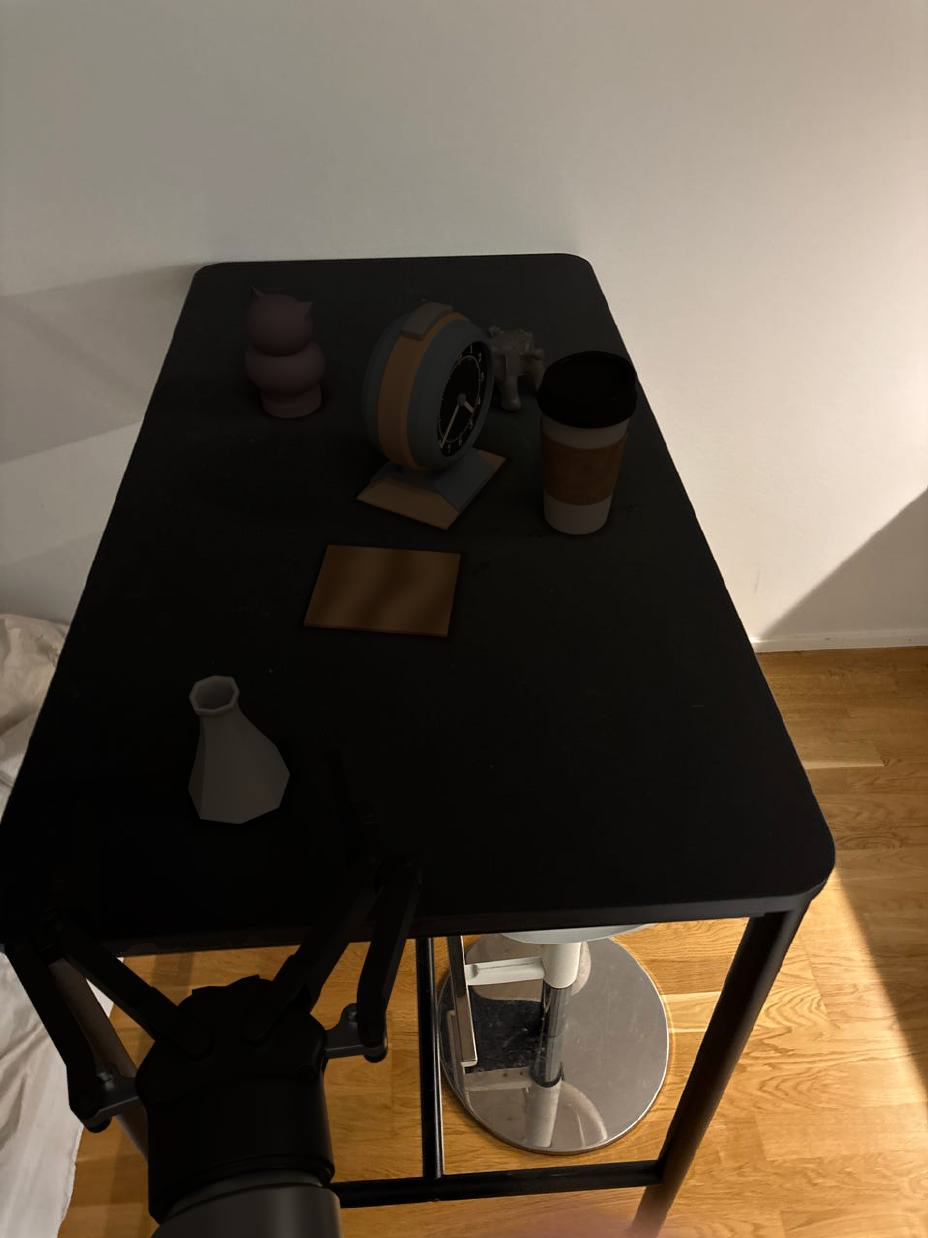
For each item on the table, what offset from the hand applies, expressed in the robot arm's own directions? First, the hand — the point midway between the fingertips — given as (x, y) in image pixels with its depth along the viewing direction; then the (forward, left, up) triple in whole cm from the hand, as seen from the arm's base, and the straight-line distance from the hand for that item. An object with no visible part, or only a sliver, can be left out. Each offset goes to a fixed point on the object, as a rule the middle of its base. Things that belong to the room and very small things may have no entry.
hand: (214, 787), depth 55 cm
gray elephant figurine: (+11, +60, -13) cm, 62 cm away
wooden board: (+4, +30, -13) cm, 33 cm away
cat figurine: (-11, +58, -13) cm, 61 cm away
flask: (-3, +9, -13) cm, 16 cm away
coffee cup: (+20, +42, -13) cm, 48 cm away
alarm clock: (+6, +46, -13) cm, 48 cm away
